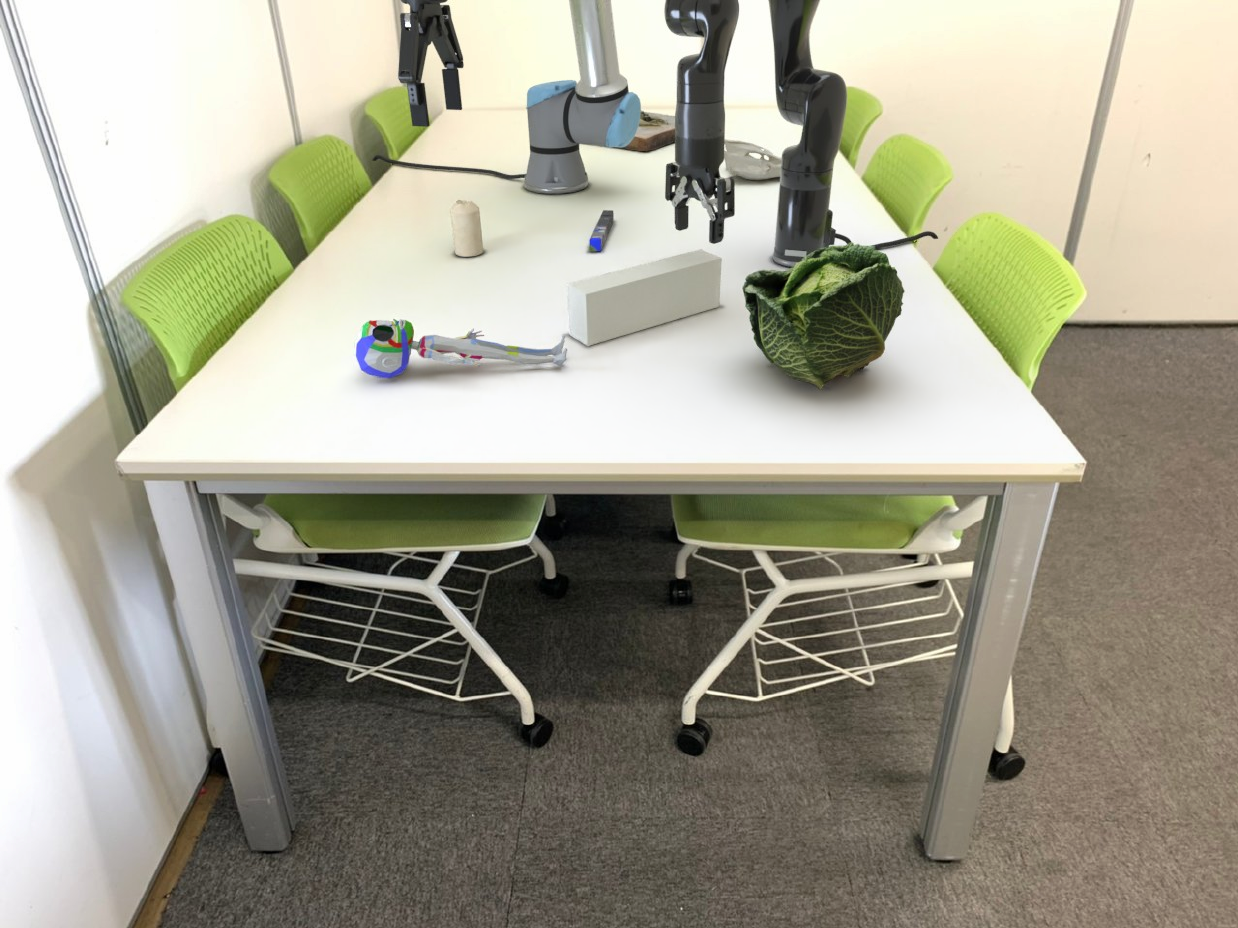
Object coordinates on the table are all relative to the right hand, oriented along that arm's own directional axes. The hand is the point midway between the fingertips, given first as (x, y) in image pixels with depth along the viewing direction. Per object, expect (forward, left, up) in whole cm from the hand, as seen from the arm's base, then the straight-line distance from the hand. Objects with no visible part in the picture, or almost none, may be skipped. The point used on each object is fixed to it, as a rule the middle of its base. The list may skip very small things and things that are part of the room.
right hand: (698, 235), depth 144 cm
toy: (+41, +12, -12) cm, 44 cm away
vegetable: (-8, +29, -12) cm, 32 cm away
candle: (+33, -39, -12) cm, 52 cm away
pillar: (+6, -41, -12) cm, 43 cm away
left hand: (+37, -28, +15) cm, 49 cm away
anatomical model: (-43, -72, -12) cm, 85 cm away
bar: (+10, +3, -12) cm, 16 cm away
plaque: (-26, -126, -12) cm, 129 cm away
